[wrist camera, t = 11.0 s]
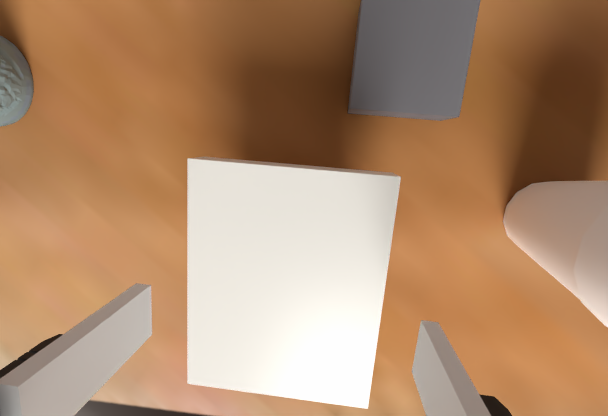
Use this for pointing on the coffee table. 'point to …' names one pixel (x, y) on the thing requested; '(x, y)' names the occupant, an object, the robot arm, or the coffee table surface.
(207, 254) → the lid
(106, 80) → the coffee table surface
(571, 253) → the foam cup
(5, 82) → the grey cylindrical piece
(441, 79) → the stand
